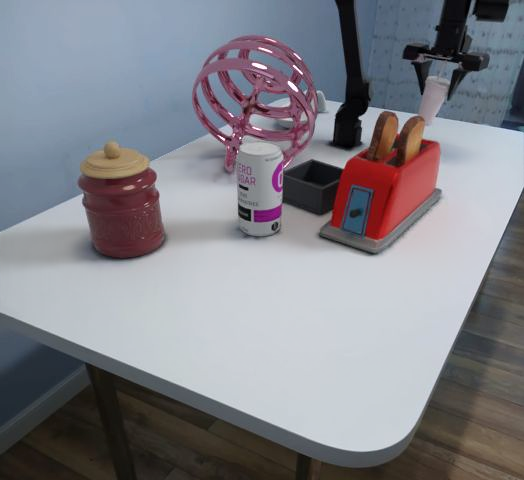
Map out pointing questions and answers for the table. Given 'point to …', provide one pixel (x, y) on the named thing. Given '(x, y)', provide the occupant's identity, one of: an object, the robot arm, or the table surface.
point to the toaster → (385, 186)
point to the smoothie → (433, 96)
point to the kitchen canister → (121, 202)
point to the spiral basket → (250, 103)
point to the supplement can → (259, 187)
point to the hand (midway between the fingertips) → (435, 97)
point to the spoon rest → (289, 122)
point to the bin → (311, 186)
